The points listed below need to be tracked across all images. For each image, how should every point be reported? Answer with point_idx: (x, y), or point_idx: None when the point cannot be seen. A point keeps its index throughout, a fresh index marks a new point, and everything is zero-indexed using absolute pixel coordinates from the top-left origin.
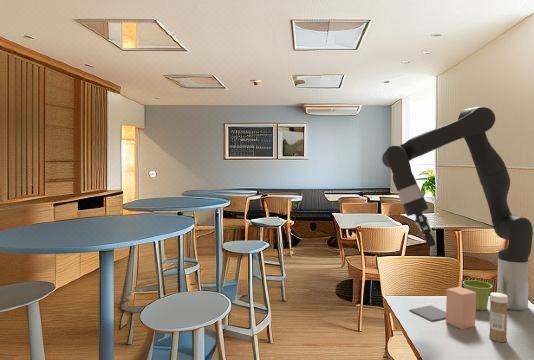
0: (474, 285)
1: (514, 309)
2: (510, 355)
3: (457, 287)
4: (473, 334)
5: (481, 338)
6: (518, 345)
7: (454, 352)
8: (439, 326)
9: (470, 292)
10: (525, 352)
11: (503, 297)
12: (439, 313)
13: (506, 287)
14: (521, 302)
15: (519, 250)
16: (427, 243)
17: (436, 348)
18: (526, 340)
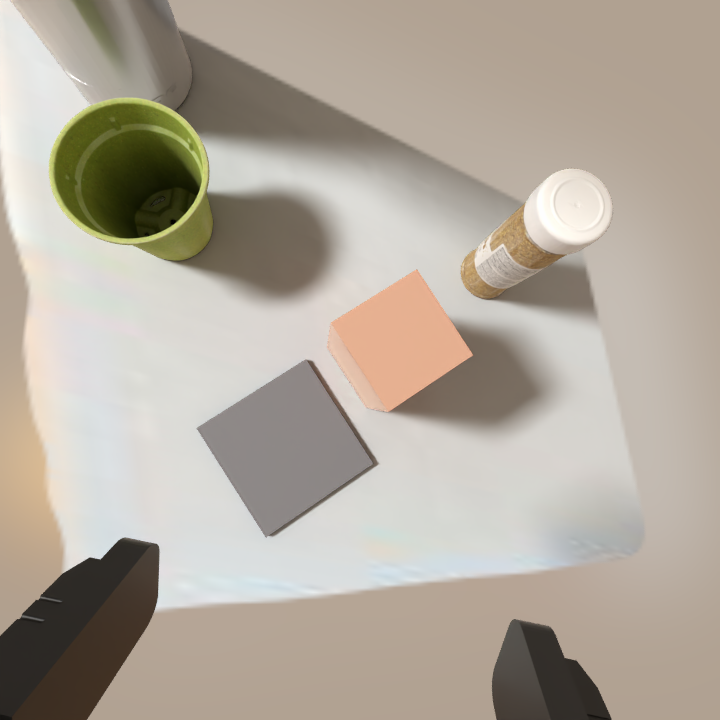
0: (77, 174)
1: (189, 84)
2: (590, 286)
3: (349, 341)
4: None
5: (489, 326)
6: None
7: (610, 450)
8: (414, 444)
9: (426, 300)
10: None
11: (610, 200)
12: (293, 414)
13: (134, 32)
14: (179, 33)
15: None
16: (143, 629)
17: (595, 501)
18: (474, 186)
